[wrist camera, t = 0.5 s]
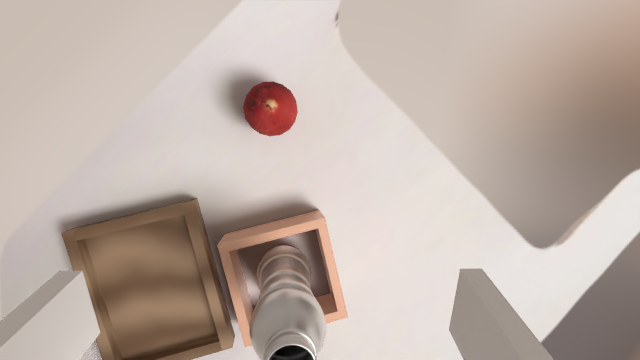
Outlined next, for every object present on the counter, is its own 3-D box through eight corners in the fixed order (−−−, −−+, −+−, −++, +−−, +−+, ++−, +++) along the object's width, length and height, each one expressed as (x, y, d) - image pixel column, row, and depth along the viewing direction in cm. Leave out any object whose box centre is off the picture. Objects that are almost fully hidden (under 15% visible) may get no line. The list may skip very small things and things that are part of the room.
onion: (241, 129, 40) (233, 124, 32) (253, 82, 40) (247, 65, 32) (288, 142, 41) (291, 140, 33) (300, 96, 41) (306, 83, 33)
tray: (234, 336, 42) (232, 347, 39) (120, 369, 40) (110, 383, 38) (197, 198, 40) (191, 201, 37) (75, 227, 38) (61, 233, 36)
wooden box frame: (339, 298, 43) (347, 317, 38) (248, 324, 42) (245, 347, 37) (319, 209, 42) (324, 217, 37) (224, 234, 41) (217, 245, 36)
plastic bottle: (302, 234, 42) (325, 308, 22) (314, 284, 43) (348, 398, 23) (251, 248, 41) (229, 337, 22) (265, 299, 42) (256, 429, 22)
